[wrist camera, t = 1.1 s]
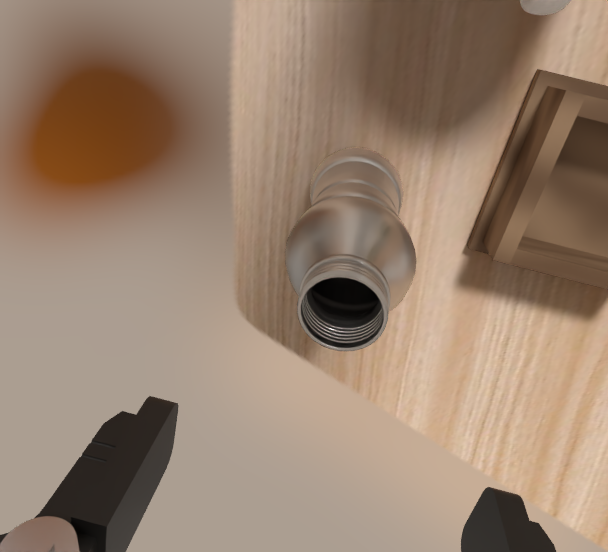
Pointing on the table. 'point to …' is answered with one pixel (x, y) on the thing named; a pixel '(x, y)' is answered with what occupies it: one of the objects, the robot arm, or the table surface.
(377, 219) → the plastic bottle
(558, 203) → the bottle stand
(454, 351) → the table surface
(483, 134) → the table surface
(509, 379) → the table surface
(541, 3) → the mug
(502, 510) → the robot arm
